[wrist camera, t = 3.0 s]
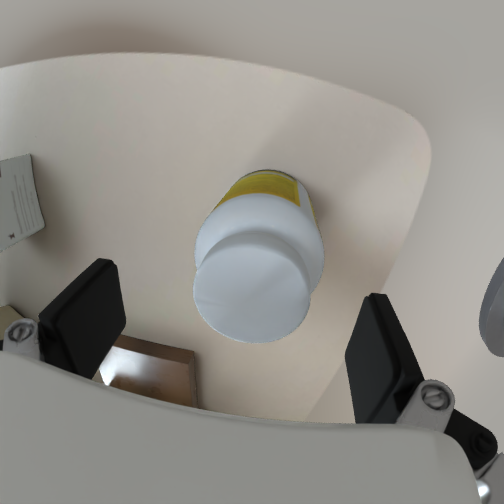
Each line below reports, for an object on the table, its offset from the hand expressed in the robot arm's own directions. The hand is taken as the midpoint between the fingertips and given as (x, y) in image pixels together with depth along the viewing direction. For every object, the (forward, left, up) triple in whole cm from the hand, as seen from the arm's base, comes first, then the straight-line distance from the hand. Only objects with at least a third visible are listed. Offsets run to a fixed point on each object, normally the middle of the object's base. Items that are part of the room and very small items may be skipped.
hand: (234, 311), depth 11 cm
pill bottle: (0, 0, -13) cm, 13 cm away
